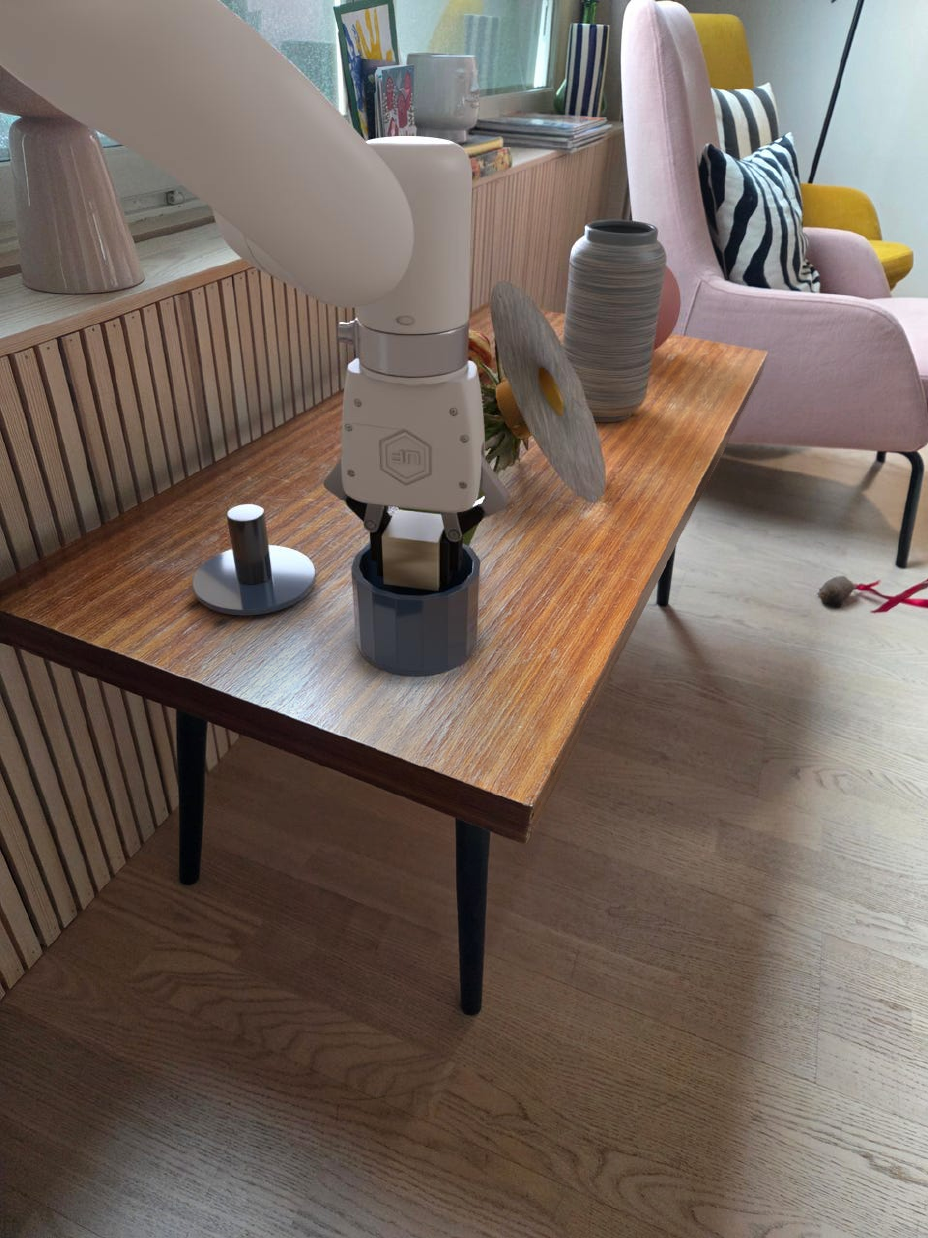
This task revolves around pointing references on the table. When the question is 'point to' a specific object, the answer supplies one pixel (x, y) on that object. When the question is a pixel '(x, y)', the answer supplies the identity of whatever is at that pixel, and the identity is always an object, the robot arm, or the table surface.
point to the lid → (252, 570)
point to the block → (412, 550)
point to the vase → (614, 313)
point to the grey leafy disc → (538, 397)
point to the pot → (415, 618)
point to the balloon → (667, 308)
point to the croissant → (479, 350)
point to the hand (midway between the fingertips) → (416, 569)
